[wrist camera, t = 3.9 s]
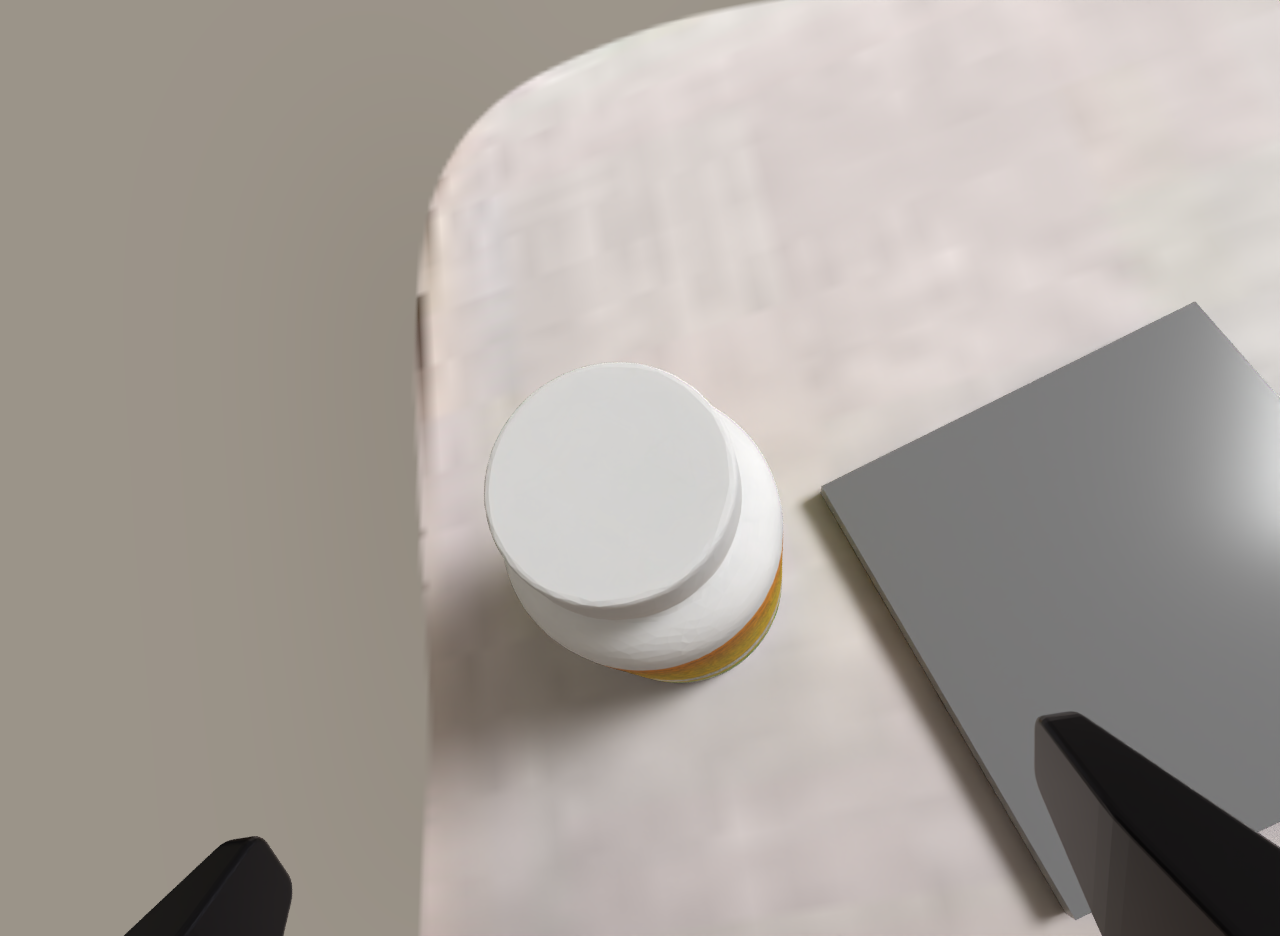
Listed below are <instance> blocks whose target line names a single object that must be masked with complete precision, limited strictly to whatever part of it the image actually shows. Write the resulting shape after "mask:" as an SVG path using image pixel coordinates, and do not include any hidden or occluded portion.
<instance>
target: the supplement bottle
mask: <svg viewBox="0 0 1280 936" xmlns="http://www.w3.org/2000/svg"><path fill="white" fill-rule="evenodd" d="M484 502H485V510H486V515H487V521H488V525H489V529H490V531H491V534H492V537H493V539H494V542H495V544H496V546H497V548H498V550H499V551H500V553H501V555H502V556H503V558H504V560H505V564H506V569H507V573H508V576H509V578H510V581H511V584H512V586H513V588H514V591H515V593H516V595H517V596H518V598H519V600H520V602H521V603H522V605H523V607H524V608H525V610H526V611H527V613H528V614H529V615H530V616H531V617H532V619H533V620H534V621H535V622H536V623H537V624H538V625H539V626H540V627H541V628H542V629H543V630H544V631H545V632H546V633H547V634H548V635H549V636H550V637H551V638H552V639H554V640H555V641H556V642H558V643H559V644H561V645H562V646H563V647H565V648H567V649H568V650H570V651H571V652H573V653H575V654H577V655H579V656H581V657H583V658H586V659H588V660H590V661H593V662H595V663H598V664H601V665H603V666H607V667H610V668H614V669H618V670H622V671H625V672H629V673H632V674H636V675H639V676H642V677H646V678H649V679H653V680H657V681H663V682H673V683H686V682H695V681H702V680H706V679H710V678H713V677H716V676H718V675H721V674H723V673H725V672H727V671H729V670H731V669H732V668H734V667H735V666H737V665H738V664H740V663H741V662H742V661H744V660H745V659H746V658H747V657H748V656H749V655H750V654H751V653H752V652H753V651H754V650H755V649H756V648H757V647H758V645H759V644H760V643H761V642H762V640H763V639H764V637H765V636H766V634H767V632H768V631H769V629H770V627H771V625H772V622H773V620H774V618H775V615H776V613H777V610H778V606H779V602H780V597H781V589H782V551H783V515H782V507H781V503H780V497H779V493H778V490H777V486H776V483H775V480H774V477H773V475H772V472H771V470H770V468H769V466H768V464H767V462H766V460H765V458H764V456H763V455H762V453H761V452H760V450H759V448H758V447H757V445H756V444H755V443H754V441H753V440H752V439H751V438H750V436H749V435H748V434H747V433H746V432H745V431H744V430H743V429H742V428H741V427H740V426H739V425H738V424H737V423H735V422H734V421H733V420H732V419H731V418H729V417H728V416H727V415H725V414H724V413H722V412H721V411H719V410H718V409H716V408H714V407H713V406H712V405H711V404H710V403H709V402H708V401H707V400H706V399H705V398H704V397H703V396H702V394H701V393H699V392H698V391H697V390H696V389H695V388H693V387H692V386H691V385H689V384H688V383H686V382H685V381H683V380H681V379H680V378H678V377H677V376H675V375H673V374H671V373H668V372H666V371H664V370H661V369H658V368H654V367H651V366H647V365H643V364H637V363H628V362H608V363H600V364H593V365H589V366H585V367H581V368H578V369H575V370H573V371H570V372H568V373H565V374H563V375H561V376H559V377H557V378H555V379H553V380H551V381H550V382H548V383H547V384H545V385H543V386H542V387H540V388H539V389H538V390H536V391H535V392H534V393H533V394H531V395H530V396H529V397H528V398H527V399H526V400H525V401H524V402H523V403H522V404H521V405H520V406H519V407H518V408H517V409H516V410H515V412H514V413H513V414H512V416H511V417H510V418H509V419H508V421H507V422H506V424H505V425H504V427H503V428H502V430H501V432H500V434H499V436H498V438H497V440H496V442H495V444H494V447H493V449H492V451H491V455H490V459H489V462H488V466H487V470H486V476H485V488H484Z"/></svg>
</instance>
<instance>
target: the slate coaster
mask: <svg viewBox="0 0 1280 936" xmlns="http://www.w3.org/2000/svg"><path fill="white" fill-rule="evenodd" d="M820 493H821V495H822V496H823V498H824V500H825V501H826V503H827V505H828V507H829V508H830V510H831V512H832V513H833V515H834V517H835V519H836V520H837V522H838V524H839V525H840V527H841V529H842V531H843V532H844V534H845V536H846V537H847V539H848V541H849V543H850V544H851V546H852V548H853V549H854V551H855V553H856V555H857V556H858V558H859V560H860V561H861V563H862V565H863V567H864V568H865V570H866V572H867V573H868V575H869V577H870V579H871V580H872V582H873V584H874V585H875V587H876V589H877V591H878V592H879V594H880V596H881V597H882V599H883V601H884V603H885V604H886V606H887V608H888V609H889V611H890V613H891V615H892V616H893V618H894V620H895V621H896V623H897V625H898V627H899V628H900V630H901V632H902V633H903V635H904V637H905V639H906V640H907V642H908V644H909V645H910V647H911V649H912V651H913V652H914V654H915V656H916V657H917V659H918V661H919V663H920V664H921V666H922V668H923V669H924V671H925V673H926V675H927V676H928V678H929V680H930V681H931V683H932V685H933V687H934V688H935V690H936V692H937V693H938V695H939V697H940V699H941V700H942V702H943V704H944V705H945V707H946V709H947V711H948V712H949V714H950V716H951V717H952V719H953V721H954V723H955V724H956V726H957V728H958V729H959V731H960V733H961V735H962V736H963V738H964V740H965V741H966V743H967V745H968V747H969V748H970V750H971V752H972V753H973V755H974V757H975V759H976V760H977V762H978V764H979V765H980V767H981V769H982V771H983V772H984V774H985V776H986V777H987V779H988V781H989V783H990V784H991V786H992V788H993V789H994V791H995V793H996V795H997V796H998V798H999V800H1000V801H1001V803H1002V805H1003V807H1004V808H1005V810H1006V812H1007V813H1008V815H1009V817H1010V819H1011V820H1012V822H1013V824H1014V826H1015V827H1016V829H1017V831H1018V832H1019V834H1020V836H1021V838H1022V839H1023V841H1024V843H1025V844H1026V846H1027V848H1028V850H1029V851H1030V853H1031V855H1032V856H1033V858H1034V860H1035V862H1036V863H1037V865H1038V867H1039V868H1040V870H1041V872H1042V874H1043V875H1044V877H1045V879H1046V880H1047V882H1048V884H1049V886H1050V887H1051V889H1052V891H1053V892H1054V894H1055V896H1056V898H1057V899H1058V901H1059V903H1060V904H1061V906H1062V908H1063V910H1064V911H1065V913H1066V914H1068V915H1069V916H1071V917H1072V918H1073V919H1075V920H1077V919H1079V918H1081V917H1083V916H1085V915H1087V914H1089V913H1091V910H1090V908H1089V905H1088V903H1087V901H1086V898H1085V896H1084V894H1083V891H1082V889H1081V887H1080V884H1079V882H1078V880H1077V877H1076V875H1075V873H1074V870H1073V868H1072V866H1071V863H1070V861H1069V859H1068V856H1067V854H1066V852H1065V849H1064V847H1063V845H1062V842H1061V840H1060V838H1059V835H1058V833H1057V831H1056V828H1055V826H1054V824H1053V821H1052V819H1051V817H1050V814H1049V812H1048V810H1047V807H1046V805H1045V803H1044V800H1043V798H1042V796H1041V793H1040V791H1039V788H1038V785H1037V782H1036V778H1035V772H1034V727H1035V722H1036V720H1037V718H1038V717H1040V716H1042V715H1048V714H1055V713H1061V712H1068V711H1074V712H1078V713H1080V714H1083V715H1084V716H1086V717H1087V718H1089V719H1090V720H1092V721H1093V722H1095V723H1096V724H1098V725H1099V726H1101V727H1102V728H1104V729H1105V730H1107V731H1108V732H1110V733H1111V734H1113V735H1114V736H1116V737H1117V738H1119V739H1120V740H1122V741H1123V742H1125V743H1126V744H1127V745H1129V746H1130V747H1132V748H1133V749H1135V750H1136V751H1138V752H1139V753H1141V754H1142V755H1144V756H1145V757H1147V758H1148V759H1150V760H1151V761H1153V762H1154V763H1156V764H1157V765H1159V766H1160V767H1162V768H1163V769H1165V770H1166V771H1168V772H1169V773H1170V774H1172V775H1173V776H1175V777H1176V778H1178V779H1179V780H1181V781H1182V782H1184V783H1185V784H1187V785H1188V786H1190V787H1191V788H1193V789H1194V790H1196V791H1197V792H1199V793H1200V794H1202V795H1203V796H1205V797H1206V798H1208V799H1209V800H1211V801H1212V802H1213V803H1215V804H1216V805H1218V806H1219V807H1221V808H1222V809H1224V810H1225V811H1227V812H1228V813H1230V814H1231V815H1233V816H1234V817H1236V818H1237V819H1239V820H1240V821H1242V822H1243V823H1245V824H1246V825H1248V826H1249V827H1251V828H1252V829H1254V830H1255V831H1256V832H1259V831H1261V830H1263V829H1265V828H1268V827H1270V826H1272V825H1274V824H1276V823H1278V822H1280V397H1279V396H1278V395H1277V394H1276V393H1275V392H1274V390H1273V389H1272V388H1271V387H1270V386H1269V385H1268V384H1267V382H1266V381H1265V380H1264V379H1263V378H1262V377H1261V376H1260V375H1259V373H1258V372H1257V371H1256V370H1255V369H1254V368H1253V367H1252V365H1251V364H1250V363H1249V362H1248V361H1247V360H1246V359H1245V358H1244V356H1243V355H1242V354H1241V353H1240V352H1239V351H1238V350H1237V348H1236V347H1235V346H1234V345H1233V344H1232V343H1231V342H1230V340H1229V339H1228V338H1227V337H1226V336H1225V335H1224V334H1223V333H1222V331H1221V330H1220V329H1219V328H1218V327H1217V326H1216V325H1215V323H1214V322H1213V321H1212V320H1211V319H1210V318H1209V317H1208V316H1207V314H1206V313H1205V312H1204V311H1203V310H1202V309H1201V308H1200V306H1199V305H1198V304H1197V303H1196V302H1193V303H1191V304H1189V305H1187V306H1185V307H1183V308H1181V309H1179V310H1177V311H1175V312H1173V313H1171V314H1169V315H1167V316H1165V317H1163V318H1161V319H1159V320H1157V321H1155V322H1153V323H1151V324H1149V325H1147V326H1145V327H1143V328H1141V329H1139V330H1136V331H1134V332H1132V333H1130V334H1128V335H1126V336H1124V337H1122V338H1120V339H1118V340H1116V341H1114V342H1112V343H1110V344H1108V345H1106V346H1104V347H1102V348H1100V349H1098V350H1096V351H1094V352H1092V353H1090V354H1088V355H1086V356H1084V357H1082V358H1080V359H1078V360H1076V361H1074V362H1072V363H1070V364H1068V365H1066V366H1064V367H1062V368H1060V369H1058V370H1056V371H1054V372H1052V373H1050V374H1048V375H1046V376H1044V377H1042V378H1040V379H1038V380H1036V381H1034V382H1032V383H1030V384H1027V385H1025V386H1023V387H1021V388H1019V389H1017V390H1015V391H1013V392H1011V393H1009V394H1007V395H1005V396H1003V397H1001V398H999V399H997V400H995V401H993V402H991V403H989V404H987V405H985V406H983V407H981V408H979V409H977V410H975V411H973V412H971V413H969V414H967V415H965V416H963V417H961V418H959V419H957V420H955V421H953V422H951V423H949V424H947V425H945V426H943V427H941V428H939V429H937V430H935V431H933V432H931V433H929V434H927V435H925V436H923V437H921V438H919V439H916V440H914V441H912V442H910V443H908V444H906V445H904V446H902V447H900V448H898V449H896V450H894V451H892V452H890V453H888V454H886V455H884V456H882V457H880V458H878V459H876V460H874V461H872V462H870V463H868V464H866V465H864V466H862V467H860V468H858V469H856V470H854V471H852V472H850V473H848V474H846V475H844V476H842V477H840V478H838V479H836V480H834V481H832V482H830V483H828V484H826V485H824V486H822V487H821V492H820Z"/></svg>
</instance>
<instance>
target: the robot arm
mask: <svg viewBox="0 0 1280 936" xmlns="http://www.w3.org/2000/svg"><path fill="white" fill-rule="evenodd" d="M1034 772H1035V778H1036V782H1037V785H1038V788H1039V791H1040V793H1041V796H1042V798H1043V800H1044V803H1045V805H1046V807H1047V810H1048V812H1049V814H1050V817H1051V819H1052V821H1053V824H1054V826H1055V828H1056V831H1057V833H1058V835H1059V838H1060V840H1061V842H1062V845H1063V847H1064V849H1065V852H1066V854H1067V856H1068V859H1069V861H1070V863H1071V866H1072V868H1073V870H1074V873H1075V875H1076V877H1077V880H1078V882H1079V884H1080V887H1081V889H1082V891H1083V894H1084V896H1085V898H1086V901H1087V903H1088V905H1089V908H1090V910H1091V912H1092V915H1093V917H1094V919H1095V921H1096V923H1097V926H1098V928H1099V930H1100V932H1101V935H1102V936H1280V847H1279V846H1277V845H1276V844H1274V843H1273V842H1271V841H1270V840H1268V839H1267V838H1265V837H1264V836H1262V835H1261V834H1259V833H1258V832H1256V831H1255V830H1254V829H1252V828H1251V827H1249V826H1248V825H1246V824H1245V823H1243V822H1242V821H1240V820H1239V819H1237V818H1236V817H1234V816H1233V815H1231V814H1230V813H1228V812H1227V811H1225V810H1224V809H1222V808H1221V807H1219V806H1218V805H1216V804H1215V803H1213V802H1212V801H1211V800H1209V799H1208V798H1206V797H1205V796H1203V795H1202V794H1200V793H1199V792H1197V791H1196V790H1194V789H1193V788H1191V787H1190V786H1188V785H1187V784H1185V783H1184V782H1182V781H1181V780H1179V779H1178V778H1176V777H1175V776H1173V775H1172V774H1170V773H1169V772H1168V771H1166V770H1165V769H1163V768H1162V767H1160V766H1159V765H1157V764H1156V763H1154V762H1153V761H1151V760H1150V759H1148V758H1147V757H1145V756H1144V755H1142V754H1141V753H1139V752H1138V751H1136V750H1135V749H1133V748H1132V747H1130V746H1129V745H1127V744H1126V743H1125V742H1123V741H1122V740H1120V739H1119V738H1117V737H1116V736H1114V735H1113V734H1111V733H1110V732H1108V731H1107V730H1105V729H1104V728H1102V727H1101V726H1099V725H1098V724H1096V723H1095V722H1093V721H1092V720H1090V719H1089V718H1087V717H1086V716H1084V715H1083V714H1080V713H1078V712H1074V711H1068V712H1061V713H1055V714H1048V715H1042V716H1040V717H1038V718H1037V720H1036V722H1035V727H1034ZM291 899H292V883H291V879H290V876H289V875H288V873H287V872H286V870H285V869H284V867H283V866H282V864H281V863H280V861H279V860H278V858H277V857H276V855H275V854H274V852H273V851H272V849H271V848H270V846H269V845H268V844H267V842H266V841H265V840H264V839H263V838H260V837H258V836H253V837H247V838H240V839H233V840H229V841H227V842H225V843H223V844H221V845H220V846H219V847H218V848H217V849H215V850H214V851H213V852H212V854H210V856H208V857H207V858H206V859H205V860H204V861H203V862H202V863H201V864H200V865H198V866H197V867H196V868H195V869H194V870H193V871H192V872H191V873H190V874H189V875H188V876H187V877H186V878H185V879H184V880H183V881H181V882H180V883H179V884H178V885H177V886H176V887H175V888H174V889H173V890H172V891H171V892H170V893H169V894H168V895H167V896H165V898H163V899H162V900H161V901H160V902H159V903H158V904H157V905H156V906H155V907H154V908H153V909H152V910H151V911H150V912H148V914H146V915H145V916H144V917H143V918H142V919H141V920H140V921H139V922H138V923H137V924H136V925H135V926H134V927H133V928H131V930H129V931H128V932H127V933H126V934H125V935H124V936H283V935H284V930H285V926H286V922H287V918H288V913H289V909H290V904H291Z"/></svg>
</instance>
